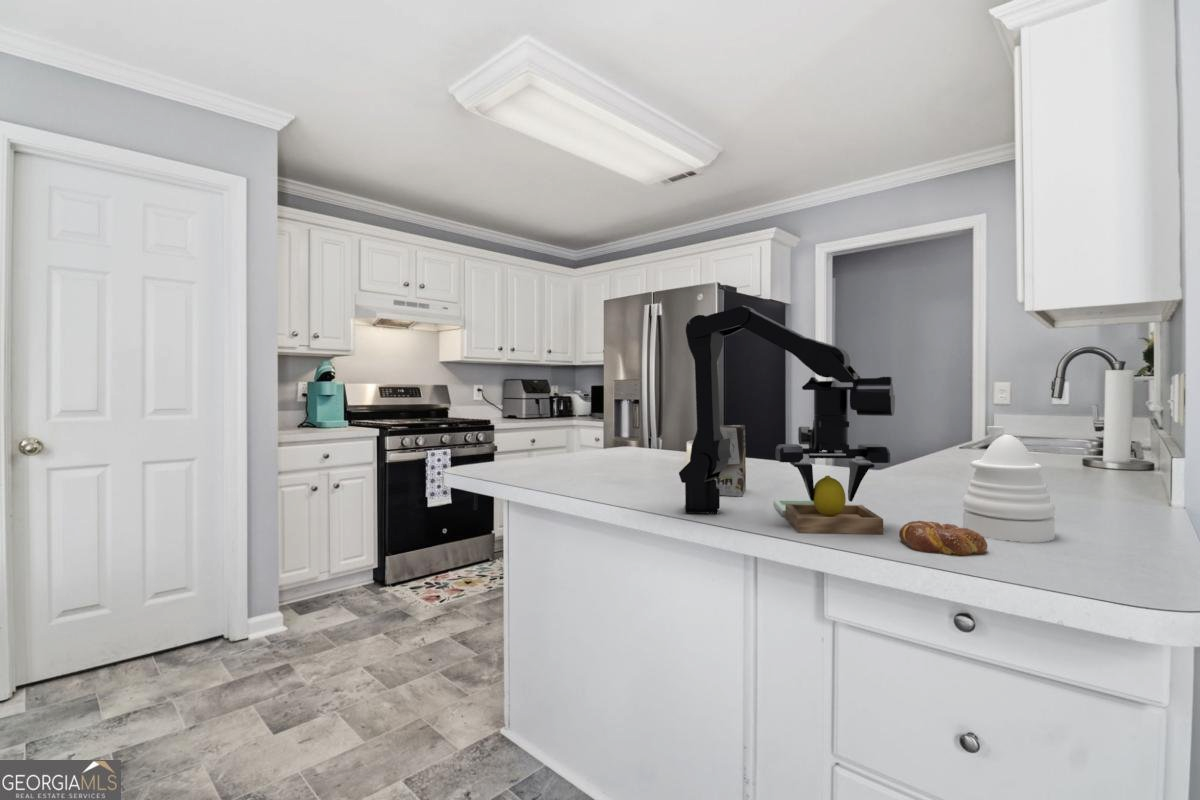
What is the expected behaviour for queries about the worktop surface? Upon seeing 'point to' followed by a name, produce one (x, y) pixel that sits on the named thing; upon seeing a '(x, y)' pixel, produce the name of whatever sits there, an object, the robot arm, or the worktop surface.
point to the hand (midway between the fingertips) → (830, 500)
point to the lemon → (829, 496)
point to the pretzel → (942, 538)
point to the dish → (781, 504)
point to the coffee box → (733, 462)
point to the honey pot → (1008, 494)
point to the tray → (834, 520)
